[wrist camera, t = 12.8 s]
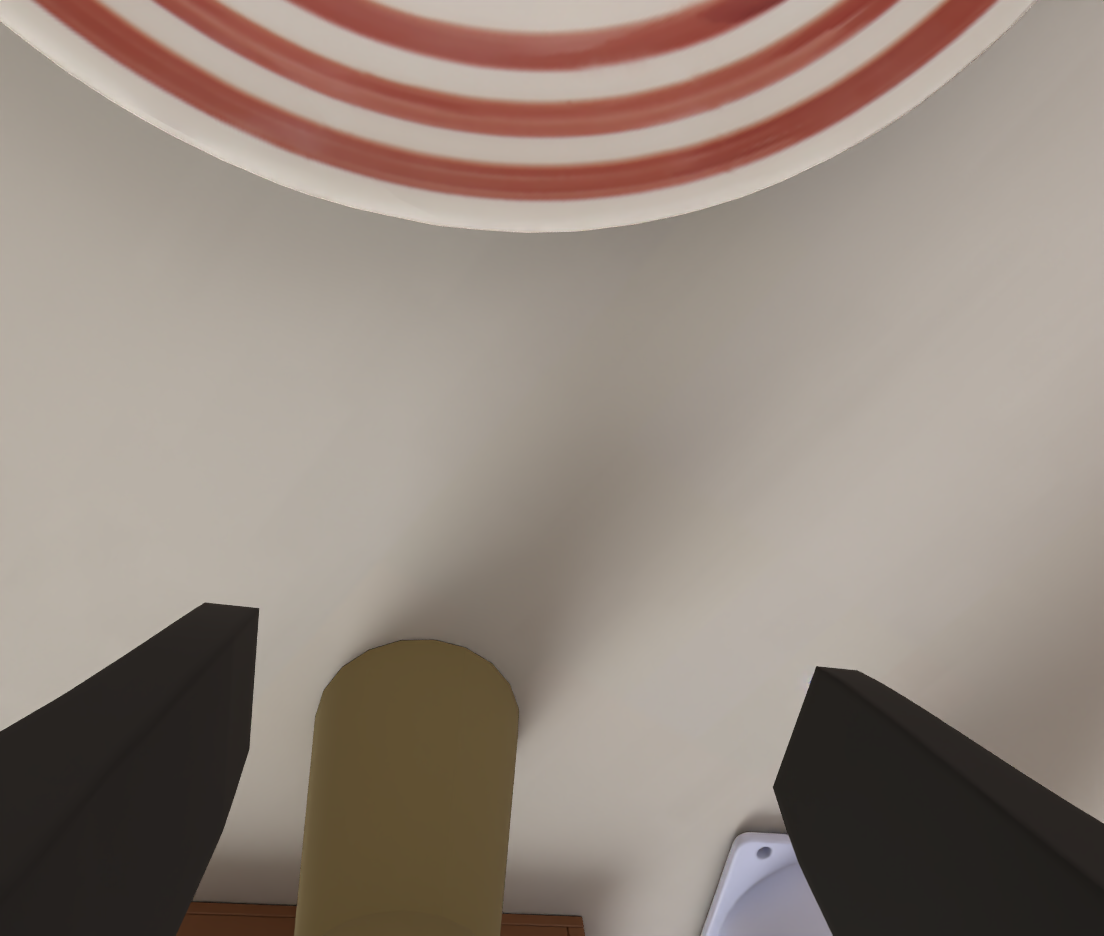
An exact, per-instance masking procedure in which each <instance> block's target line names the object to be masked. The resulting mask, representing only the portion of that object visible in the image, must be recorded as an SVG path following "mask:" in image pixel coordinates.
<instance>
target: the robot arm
mask: <svg viewBox="0 0 1104 936" xmlns="http://www.w3.org/2000/svg"><path fill="white" fill-rule="evenodd" d="M258 618H259V608H251V607H242V606H232V605H222V604H213V603H204V604H202V605H200V606H199V607H197V608H195V609H194V610H192V611H191V612H189V613H188V614H186V615H185V616H183V617H182V618H180V619H179V620H177V621H176V622H174V623H173V624H171V625H170V626H168V627H167V628H165V629H164V630H162V631H161V632H159V633H158V634H156V635H155V636H153V637H152V638H150V639H149V640H147V641H146V642H144V643H143V644H141V645H140V646H138V647H137V648H135V649H134V650H132V651H131V652H129V653H128V654H126V655H124V656H123V657H121V658H120V659H118V660H117V661H115V662H114V663H112V664H111V665H109V666H107V667H106V668H104V669H103V670H101V671H100V672H98V673H97V674H95V675H93V676H92V677H90V678H89V679H87V680H86V681H84V682H83V683H81V684H79V685H78V686H76V687H75V688H73V689H72V690H70V691H68V692H67V693H65V694H64V695H62V696H60V697H59V698H57V699H55V700H54V701H52V702H50V703H49V704H47V705H45V706H43V707H42V708H40V709H38V710H37V711H35V712H33V713H31V714H30V715H28V716H26V717H25V718H23V719H21V720H19V721H18V722H16V723H14V724H13V725H11V726H9V727H7V728H6V729H4V730H2V731H1V732H0V936H176V934H177V932H178V930H179V928H180V925H181V923H182V921H183V919H184V917H185V914H186V912H187V910H188V908H189V906H190V903H191V901H192V899H193V897H194V895H195V892H196V890H197V888H198V886H199V883H200V881H201V879H202V877H203V875H204V872H205V870H206V868H207V866H208V863H209V861H210V859H211V857H212V855H213V852H214V850H215V848H216V845H217V843H218V841H219V839H220V836H221V834H222V832H223V829H224V826H225V823H226V820H227V817H228V814H229V811H230V808H231V805H232V802H233V799H234V796H235V793H236V790H237V786H238V783H239V780H240V777H241V774H242V771H243V767H244V764H245V761H246V758H247V755H248V752H249V746H250V731H251V717H252V703H253V689H254V675H255V660H256V646H257V632H258ZM773 789H774V792H775V795H776V798H777V801H778V805H779V808H780V811H781V814H782V817H783V820H784V824H785V827H786V830H787V833H788V834H774V833H758V832H745V833H742V834H740V835H739V836H737V837H736V838H735V840H734V842H733V844H732V847H731V850H730V852H729V855H728V858H727V861H726V864H725V867H724V870H723V873H722V875H721V878H720V881H719V884H718V887H717V890H716V893H715V895H714V898H713V901H712V904H711V907H710V910H709V913H708V916H707V918H706V921H705V924H704V927H703V930H702V933H701V936H1104V824H1103V823H1102V822H1100V821H1098V820H1097V819H1095V818H1093V817H1092V816H1090V815H1088V814H1087V813H1085V812H1084V811H1082V810H1080V809H1079V808H1077V807H1075V806H1074V805H1072V804H1070V803H1069V802H1067V801H1066V800H1064V799H1062V798H1061V797H1059V796H1058V795H1056V794H1055V793H1053V792H1051V791H1050V790H1048V789H1047V788H1045V787H1043V786H1042V785H1040V784H1039V783H1037V782H1036V781H1034V780H1032V779H1031V778H1029V777H1028V776H1026V775H1025V774H1023V773H1022V772H1020V771H1018V770H1017V769H1015V768H1014V767H1012V766H1011V765H1009V764H1008V763H1006V762H1005V761H1003V760H1001V759H1000V758H998V757H997V756H995V755H994V754H992V753H991V752H989V751H988V750H986V749H985V748H983V747H982V746H980V745H978V744H977V743H975V742H974V741H972V740H971V739H969V738H968V737H966V736H965V735H963V734H962V733H960V732H959V731H957V730H955V729H954V728H952V727H951V726H949V725H948V724H946V723H945V722H943V721H942V720H940V719H939V718H937V717H935V716H934V715H932V714H931V713H929V712H928V711H926V710H925V709H923V708H921V707H920V706H918V705H917V704H915V703H913V702H912V701H910V700H909V699H907V698H905V697H904V696H902V695H901V694H899V693H897V692H896V691H894V690H892V689H891V688H889V687H887V686H886V685H884V684H882V683H880V682H878V681H877V680H875V679H873V678H871V677H869V676H867V675H865V674H863V673H861V672H859V671H857V670H847V669H837V668H828V667H818V666H816V669H815V672H814V675H813V677H812V680H811V683H810V686H809V688H808V691H807V694H806V697H805V700H804V702H803V705H802V708H801V711H800V713H799V716H798V719H797V722H796V725H795V727H794V730H793V733H792V736H791V738H790V741H789V744H788V747H787V750H786V752H785V755H784V758H783V761H782V763H781V766H780V769H779V772H778V775H777V777H776V780H775V783H774V786H773ZM762 847H763V848H762Z"/></svg>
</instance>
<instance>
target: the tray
mask: <svg viewBox="0 0 1104 936" xmlns="http://www.w3.org/2000/svg"><path fill="white" fill-rule="evenodd" d="M296 910H297V906H284V905H257V904H230V903H203V902H191V903H190V906H189V908H188V910H187V912H186V914H185V917H184V919H183V921H182V923H181V925H180V928H179V930H178V932H177V934H176V936H294V930H295V920H296ZM583 927H584V925H583V919H582V917H578V916H551V915H524V914H502V919H501V931H500V936H585V932H584V929H583Z"/></svg>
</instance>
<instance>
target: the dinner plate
mask: <svg viewBox="0 0 1104 936" xmlns="http://www.w3.org/2000/svg"><path fill="white" fill-rule="evenodd" d="M1037 1H1038V0H0V21H1V22H2V23H3V24H4V25H6V26H7V27H8V28H10V29H11V30H12V31H13V32H15V33H16V34H17V35H18V36H20V37H21V38H22V39H24V40H25V41H26V42H27V43H29V44H30V45H31V46H33V47H34V48H35V49H36V50H38V51H39V52H40V53H42V54H43V55H44V56H46V57H47V58H48V59H50V60H51V61H52V62H54V63H55V64H56V65H58V66H59V67H60V68H62V69H63V70H64V71H66V72H67V73H69V74H70V75H72V76H73V77H75V78H76V79H78V80H79V81H81V82H83V83H84V84H86V85H87V86H89V87H90V88H92V89H93V90H95V91H96V92H98V93H99V94H101V95H103V96H104V97H106V98H107V99H109V100H110V101H112V102H113V103H115V104H117V105H119V106H120V107H122V108H124V109H125V110H127V111H129V112H131V113H132V114H134V115H136V116H137V117H139V118H141V119H143V120H144V121H146V122H148V123H150V124H151V125H153V126H155V127H157V128H159V129H161V130H162V131H164V132H166V133H168V134H170V135H172V136H173V137H175V138H177V139H179V140H181V141H183V142H186V143H188V144H190V145H192V146H194V147H196V148H198V149H200V150H202V151H204V152H206V153H208V154H210V155H212V156H214V157H216V158H218V159H221V160H223V161H225V162H227V163H230V164H232V165H234V166H237V167H239V168H241V169H244V170H246V171H249V172H251V173H253V174H256V175H258V176H260V177H263V178H265V179H268V180H270V181H272V182H275V183H277V184H279V185H282V186H284V187H287V188H290V189H293V190H296V191H299V192H302V193H305V194H308V195H311V196H314V197H317V198H320V199H324V200H327V201H331V202H334V203H338V204H341V205H345V206H348V207H352V208H356V209H360V210H365V211H369V212H374V213H378V214H383V215H388V216H392V217H397V218H401V219H406V220H411V221H416V222H421V223H426V224H431V225H437V226H446V227H456V228H465V229H476V230H489V231H505V232H521V233H540V232H573V231H586V230H594V229H603V228H611V227H619V226H628V225H635V224H640V223H645V222H649V221H654V220H659V219H664V218H669V217H674V216H679V215H683V214H687V213H691V212H695V211H698V210H702V209H705V208H708V207H712V206H715V205H719V204H722V203H725V202H729V201H732V200H735V199H738V198H741V197H744V196H746V195H749V194H752V193H755V192H757V191H760V190H763V189H765V188H768V187H770V186H772V185H775V184H777V183H779V182H782V181H784V180H786V179H788V178H791V177H793V176H795V175H797V174H799V173H801V172H803V171H806V170H808V169H810V168H812V167H814V166H816V165H818V164H820V163H822V162H824V161H826V160H828V159H830V158H832V157H834V156H836V155H838V154H840V153H842V152H844V151H845V150H847V149H849V148H851V147H853V146H855V145H856V144H858V143H860V142H862V141H864V140H865V139H867V138H869V137H871V136H872V135H874V134H875V133H877V132H879V131H880V130H882V129H883V128H885V127H887V126H888V125H890V124H891V123H893V122H894V121H896V120H897V119H899V118H900V117H902V116H903V115H905V114H906V113H908V112H909V111H911V110H912V109H914V108H915V107H917V106H918V105H919V104H920V103H922V102H923V101H924V100H926V99H927V98H928V97H929V96H931V95H932V94H933V93H935V92H936V91H937V90H938V89H940V88H941V87H942V86H944V85H945V84H946V83H947V82H949V81H950V80H951V79H952V78H953V77H955V76H956V75H957V74H958V73H959V72H961V71H962V70H963V69H964V68H965V67H967V66H968V65H969V64H970V63H972V62H973V61H974V60H975V59H976V58H978V57H979V56H980V55H981V54H982V53H983V52H984V51H986V50H987V49H988V48H989V47H990V46H991V45H992V44H993V43H994V42H995V41H997V40H998V39H999V38H1000V37H1001V36H1002V35H1003V34H1004V33H1005V32H1006V31H1008V30H1009V29H1010V28H1011V27H1012V26H1013V25H1014V24H1015V23H1016V22H1017V21H1018V20H1019V19H1020V18H1021V17H1022V16H1023V15H1024V14H1025V13H1026V12H1027V11H1028V10H1029V9H1030V8H1031V7H1032V6H1033V5H1034V4H1035V3H1036V2H1037Z"/></svg>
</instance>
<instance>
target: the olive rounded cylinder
mask: <svg viewBox="0 0 1104 936" xmlns="http://www.w3.org/2000/svg"><path fill="white" fill-rule="evenodd" d="M518 718H519V709H518V706H517V703H516V700H515V697H514V695H513V692H512V689H511V686H510V684H509V683H508V682H507V681H506V680H505V678H504V677H503V676H502V675H501V674H500V673H499V671H498V670H497V669H496V668H495V667H494V665H493V664H492V663H490V662H489V661H487V660H485V659H484V658H482V657H480V656H479V655H477V654H475V653H473V652H472V651H470V650H468V649H467V648H464V647H460V646H457V645H453V644H449V643H445V642H441V641H437V640H403V641H397V642H394V643H391V644H387V645H384V646H381V647H377V648H374V649H371V650H368V651H367V652H365V653H364V654H362V655H360V656H359V657H357V658H356V659H354V660H353V661H351V662H350V663H348V664H347V665H345V666H344V667H342V668H341V669H340V671H339V672H338V673H337V674H336V676H335V677H334V678H333V679H332V681H331V682H330V683H329V684H328V686H327V687H326V688H325V689H324V691H323V694H322V697H321V700H320V703H319V707H318V710H317V713H316V716H315V725H314V735H313V745H312V755H311V766H310V776H309V786H308V796H307V807H306V817H305V827H304V838H303V848H302V858H301V868H300V879H299V889H298V899H297V910H296V920H295V930H294V936H500V931H501V919H502V908H503V897H504V886H505V874H506V863H507V852H508V841H509V829H510V818H511V807H512V795H513V784H514V773H515V762H516V750H517V739H518Z"/></svg>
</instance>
